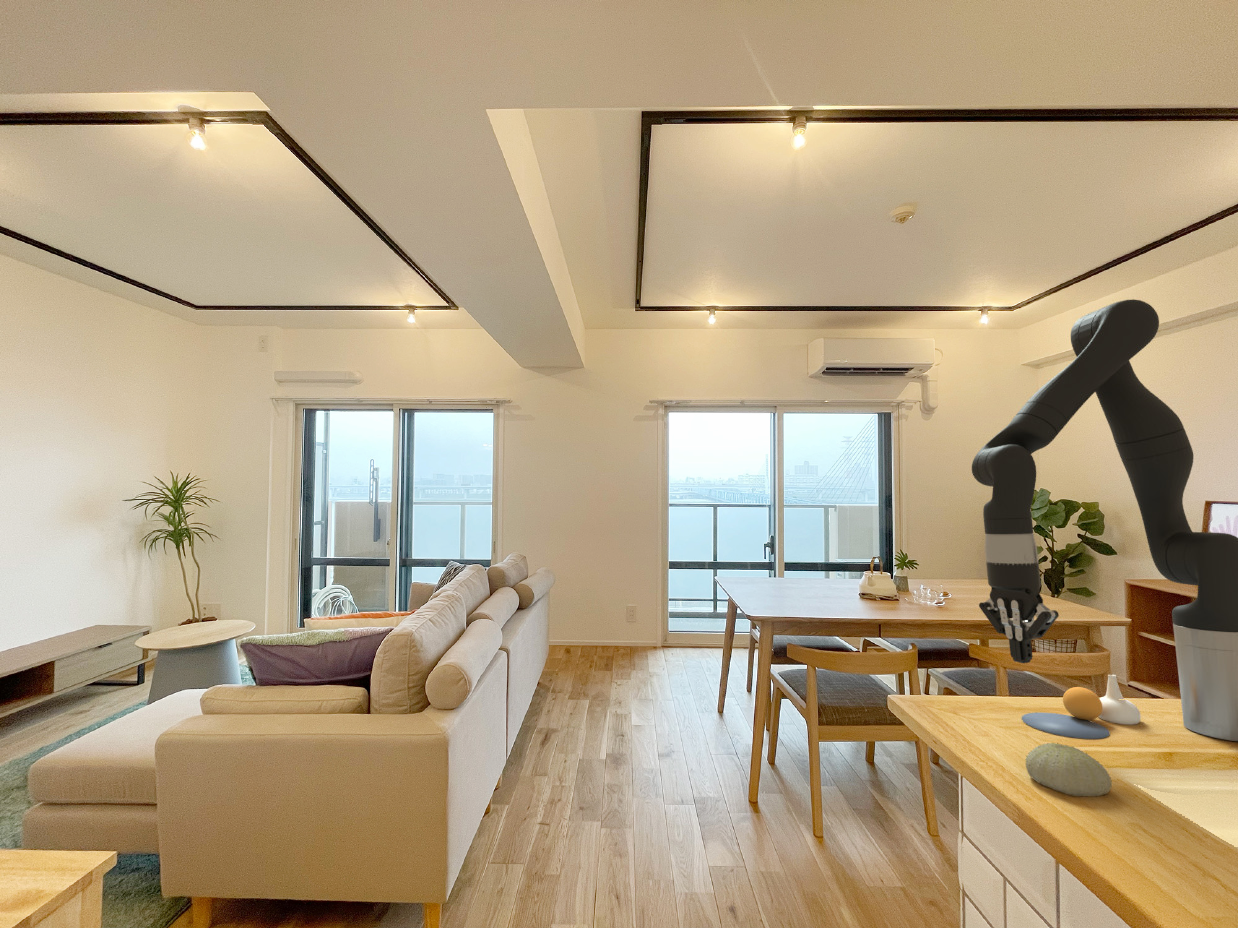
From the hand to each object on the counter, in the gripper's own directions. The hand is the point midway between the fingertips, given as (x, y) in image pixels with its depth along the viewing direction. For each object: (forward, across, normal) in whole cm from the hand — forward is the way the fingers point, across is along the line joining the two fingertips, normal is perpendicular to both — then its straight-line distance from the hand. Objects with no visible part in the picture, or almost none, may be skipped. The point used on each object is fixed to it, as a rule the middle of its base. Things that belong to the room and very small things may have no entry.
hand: (1021, 661), depth 96 cm
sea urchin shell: (+12, -15, +14) cm, 24 cm away
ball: (+9, +1, -15) cm, 17 cm away
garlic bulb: (+12, -1, -20) cm, 24 cm away
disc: (+12, 0, -8) cm, 14 cm away
